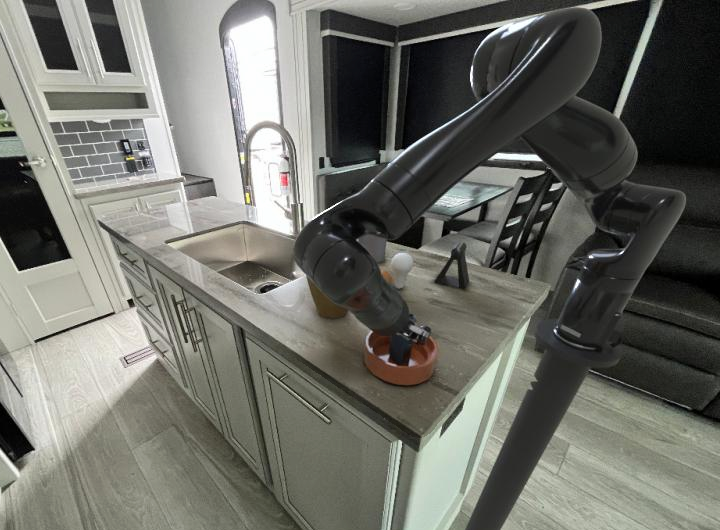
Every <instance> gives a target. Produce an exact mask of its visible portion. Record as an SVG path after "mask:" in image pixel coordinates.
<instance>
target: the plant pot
mask: <svg viewBox="0 0 720 530" xmlns="http://www.w3.org/2000/svg"><path fill="white" fill-rule="evenodd" d="M305 276H306V281H307V284H308V288H309V291H310V294H311V297H312V300H313V303H314V305H315V307H316V310H317V312H318V314H319V315H320V316H321V317H323V318H324V319H329V320H336V319H341V318H343V317H345V316H346V314H347V312H348V310H347V309H346V308H344V307H341V306H339V305H337V304H335V303H334V302H332V301H331V300H330V299H329V298H327V297H326V296H325V295H324V294H323V293H322V292H321V291H320V290H319V289H318V288H317V286H316V285H315V284H314V283H313V282H312V281H311V280H310V279H309V278H308V277H307V275H306V274H305Z"/></svg>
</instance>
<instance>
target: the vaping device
mask: <svg viewBox="0 0 720 530" xmlns="http://www.w3.org/2000/svg"><path fill="white" fill-rule="evenodd" d="M409 318H410V319H412V320H413V321H414V322H416V323H417V318H416V317H415V315H414V314H413V313H410V312H409ZM413 333H414V332H413ZM412 335H413V334H412ZM412 345H413V342H412V340H407V339H405V338H402V337H401V336H399V335H397V334H394V335H391V341H390V348H389V354H390V355H389V356H390V358H391V359H392V360H393V361H394V362H395V363H396V364H397V365H399V366H408V365H409V361H410V356H411V350H412Z"/></svg>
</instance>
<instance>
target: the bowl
mask: <svg viewBox="0 0 720 530" xmlns="http://www.w3.org/2000/svg"><path fill="white" fill-rule="evenodd" d="M390 341H391V336H381V335H378V334H376V333H374V332H373V331H371V330H370V331H369V332H368V333H367V334H366V337H365V339H364V351H363V354H364V355H363V358H364V359H363V361H364V363H365V366H366V367H367V369H368V370H369V371H370V372H371V373H372V374H373V375H374V376H376V377H377V378H379V379H381V380H382V381H384V382H387V383H390V384H394V385H398V386H399V385H400V386H413V385H418V384H421V383H423V382H426V381H427V380H429V379H430V378H431V377H432V376H433V374H434V373H435V370H436V365H437V361H438V357H439V352H440V350H439V349H440V348H439V346H438V343H437V342H436V340H435V339H434V338H433V337H432V336H431V335H430V336H429V338H428V340H427V342H426V344H425V346H422V345H420V344H419V345H416V344H415V343H414V342H413V345H412V350H411V356H410V361H409V365H408V366H399V365H397V364H396V363H395V362H394V361H393V360H392V359H391V358H390V356H389V355H390V354H389V348H390Z"/></svg>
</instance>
